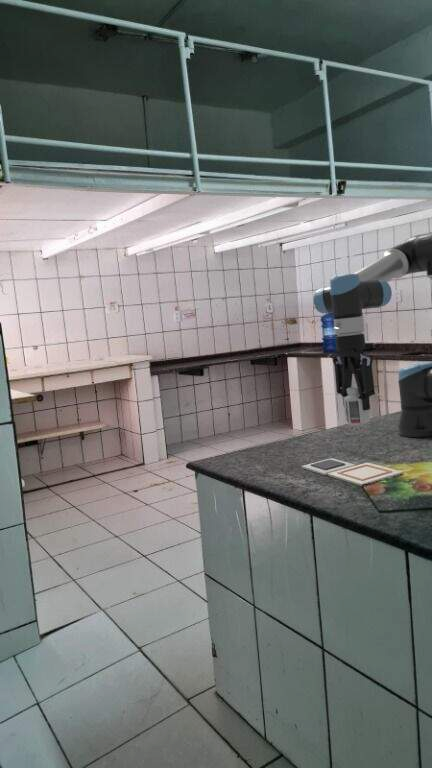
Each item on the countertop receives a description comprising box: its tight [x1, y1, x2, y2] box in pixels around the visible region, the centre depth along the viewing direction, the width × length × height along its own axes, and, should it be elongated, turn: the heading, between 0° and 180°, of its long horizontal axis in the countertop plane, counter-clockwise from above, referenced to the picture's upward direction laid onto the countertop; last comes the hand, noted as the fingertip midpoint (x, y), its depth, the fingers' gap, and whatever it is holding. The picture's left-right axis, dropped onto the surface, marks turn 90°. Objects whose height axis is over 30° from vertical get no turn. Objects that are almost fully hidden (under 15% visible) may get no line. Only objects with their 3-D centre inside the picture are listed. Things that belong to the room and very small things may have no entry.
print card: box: [327, 462, 404, 487], centre depth 152 cm, size 14×14×1 cm
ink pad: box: [300, 457, 356, 476], centre depth 163 cm, size 11×11×1 cm
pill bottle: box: [345, 386, 369, 426], centre depth 150 cm, size 5×5×10 cm
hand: (357, 420), depth 151 cm, fingers closed on pill bottle, 5 cm apart
